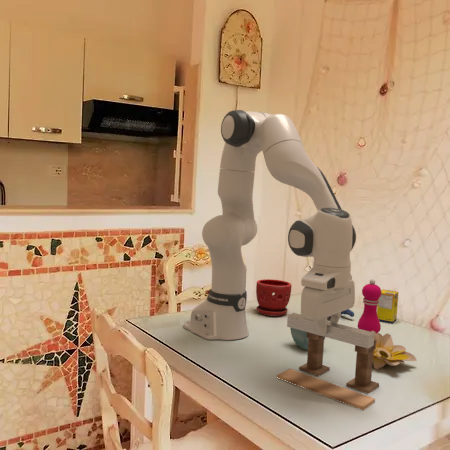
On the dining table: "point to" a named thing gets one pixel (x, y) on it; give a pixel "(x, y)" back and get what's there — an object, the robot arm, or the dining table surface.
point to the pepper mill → (370, 308)
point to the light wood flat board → (327, 389)
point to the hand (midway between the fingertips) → (328, 331)
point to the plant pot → (273, 296)
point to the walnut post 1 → (315, 355)
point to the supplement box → (387, 306)
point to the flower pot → (300, 338)
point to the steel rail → (333, 331)
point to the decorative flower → (389, 352)
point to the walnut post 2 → (363, 370)
